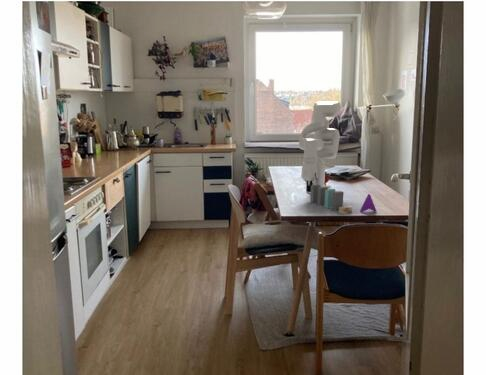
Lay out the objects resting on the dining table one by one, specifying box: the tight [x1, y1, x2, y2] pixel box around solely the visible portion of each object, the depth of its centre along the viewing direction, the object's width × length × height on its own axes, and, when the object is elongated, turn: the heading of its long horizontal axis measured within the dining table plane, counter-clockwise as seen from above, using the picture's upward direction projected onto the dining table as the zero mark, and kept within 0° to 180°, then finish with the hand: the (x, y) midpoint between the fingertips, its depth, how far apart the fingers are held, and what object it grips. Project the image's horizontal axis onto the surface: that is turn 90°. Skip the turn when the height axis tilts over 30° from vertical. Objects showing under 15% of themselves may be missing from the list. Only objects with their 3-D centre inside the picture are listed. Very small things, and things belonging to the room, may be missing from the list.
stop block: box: [338, 205, 353, 215], centre depth 232 cm, size 6×3×3 cm, turn 118°
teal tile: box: [324, 188, 337, 209], centre depth 242 cm, size 3×5×10 cm, turn 118°
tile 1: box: [309, 185, 321, 204], centre depth 253 cm, size 3×5×10 cm, turn 118°
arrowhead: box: [359, 193, 378, 213], centre depth 233 cm, size 10×2×10 cm
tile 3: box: [331, 190, 344, 212], centre depth 236 cm, size 3×5×10 cm, turn 118°
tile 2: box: [316, 187, 328, 206], centre depth 248 cm, size 3×5×10 cm, turn 118°
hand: (309, 191), depth 258 cm, fingers closed
